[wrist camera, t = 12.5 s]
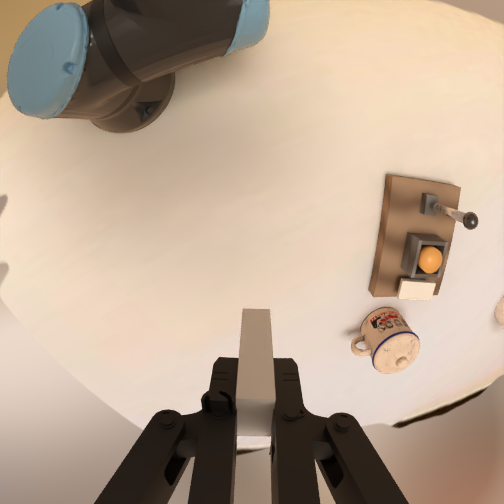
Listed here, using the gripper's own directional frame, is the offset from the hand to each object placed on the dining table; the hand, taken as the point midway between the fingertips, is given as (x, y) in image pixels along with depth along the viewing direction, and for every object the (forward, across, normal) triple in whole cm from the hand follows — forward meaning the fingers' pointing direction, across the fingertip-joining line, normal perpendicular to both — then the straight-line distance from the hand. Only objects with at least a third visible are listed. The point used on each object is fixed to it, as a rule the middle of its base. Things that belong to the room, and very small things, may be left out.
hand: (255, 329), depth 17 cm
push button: (+25, +27, -5) cm, 37 cm away
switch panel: (+29, +27, -3) cm, 40 cm away
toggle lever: (+25, +27, +4) cm, 37 cm away
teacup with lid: (+30, +23, -21) cm, 43 cm away
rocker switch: (+25, +27, -10) cm, 38 cm away
